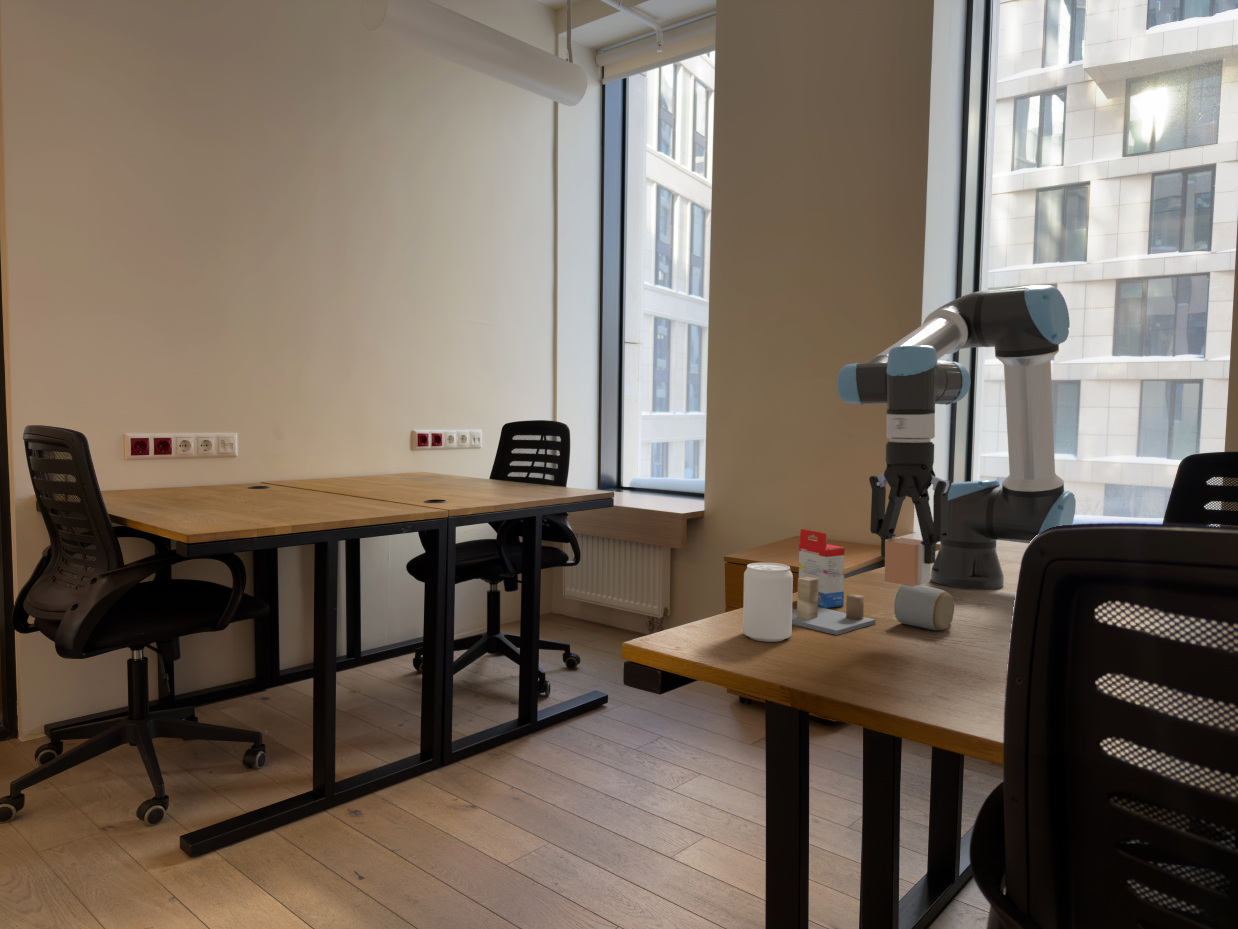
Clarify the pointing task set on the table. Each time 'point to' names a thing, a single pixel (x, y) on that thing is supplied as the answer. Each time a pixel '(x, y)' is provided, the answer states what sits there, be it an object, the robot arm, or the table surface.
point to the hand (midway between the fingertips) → (907, 579)
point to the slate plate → (837, 618)
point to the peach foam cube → (902, 561)
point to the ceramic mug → (924, 607)
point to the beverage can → (767, 602)
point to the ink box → (823, 567)
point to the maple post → (807, 598)
